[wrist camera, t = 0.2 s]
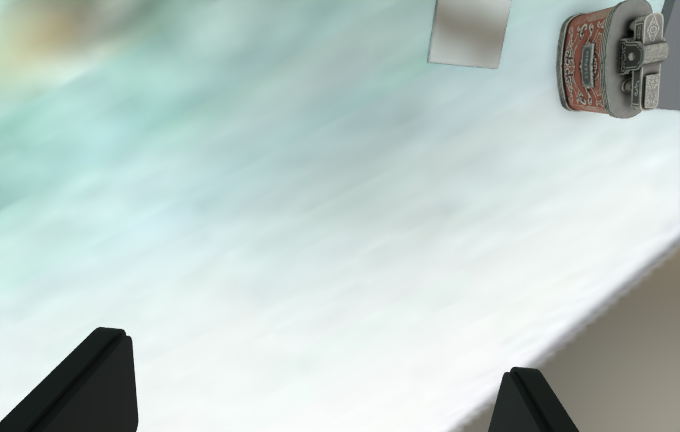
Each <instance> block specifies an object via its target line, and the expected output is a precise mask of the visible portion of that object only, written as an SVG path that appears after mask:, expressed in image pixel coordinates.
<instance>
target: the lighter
mask: <svg viewBox="0 0 680 432" xmlns="http://www.w3.org/2000/svg"><path fill="white" fill-rule="evenodd" d="M663 22H664V18H663V15H662V14H661V13H653V12H652V8H651V5H650V4H649V3H648V2H647V1H646V0H626V1H623V2H620V3H619V4H617V5H616V6H614V7H610V8H607V9H603V10H599V11H596V12H592V13H589V14H588V13H580V14H577V15H574V16H571V17H569V18H568V19H567V20H565V22H564V23H563V24H562V27H561V29H560V35H559V41H558V47H557V61H556V73H557V85H558V91H559V96H560V100H561V104H562V106H563V107H564V108H565V109H566V110H569V111H575V112H578V111H590V112H597V113H604V114H609V115H610V116H612V117H615V118H630V117H634V116H636V115H637V114H639V113H640V112H641V111H649V110H653V109H655V108H656V107H657V105H658V99H659V83H660V68H661V65H662V64H663V62H664V61H665V60H666V59H667V58H668V55H669V44H668V43H667V42H666V41H665V39H664V37H663Z"/></svg>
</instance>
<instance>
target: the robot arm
mask: <svg viewBox="0 0 680 432" xmlns="http://www.w3.org/2000/svg"><path fill="white" fill-rule="evenodd" d="M137 427H138V408H137V396H136V383H135V371H134V358H133V346H132V338H131V337H130V336H126V332H125V331H124V330H123V329H115V328H105V327H99V328H96V329H95V330H94V331H93V332H92V333H91V334H90V335H89V336H88V337H87V338H86V339H85V340H84V341H83V342H82V343H81V344H80V345H78V346H77V347H76V348H75V349H74V350H73V351H72V352H71V353H70V354H69V355H68V356H67V357H66V358H65V359H64V360H63V361H62V362H61V363H60V364H59V365H58V366H57V367H56V368H55V369H54V370H53V371H52V372H51V373H50V374H49V375H48V376H47V377H46V378H45V379H44V380H43V381H42V382H41V383H40V384H39V385H37V386H36V387H35V388H34V389H33V390H32V391H31V392H30V393H29V394H28V395H27V396H26V397H25V398H24V399H23V400H22V401H21V402H20V403H19V404H18V405H17V406H16V407H15V408H14V409H13V410H12V411H11V412H10V413H9V414H8V415H7V416H6V417H5V418H4V419H3V420H2V421H1V422H0V432H136V430H137ZM488 432H579V431H578V429H577V428H576V426H575V424H574V423H573V421H572V420H571V418H570V417H569V415H568V414H567V412H566V410H565V409H564V407H563V406H562V404H561V403H560V401H559V400H558V398H557V397H556V395H555V393H554V392H553V390H552V389H551V387H550V386H549V384H548V383H547V381H546V380H545V378H544V377H543V375H542V373H541V372H540V371H539V370H538V369H533V368H522V367H513V368H512V369H511V370H510V372H505V373H504V375H503V378H502V382H501V385H500V389H499V393H498V396H497V400H496V404H495V408H494V412H493V415H492V419H491V423H490V426H489V430H488Z"/></svg>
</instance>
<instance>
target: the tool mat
mask: <svg viewBox="0 0 680 432" xmlns="http://www.w3.org/2000/svg"><path fill="white" fill-rule="evenodd" d="M661 14H662V15H663V18H664V22H663V37H664V39H665V41H666V42H667V43H668V44H669V55H668V58H667V59H666V60H665V61H664V62H663V64H662V65H661V68H660V83H659V99H658V105H657V107H656V108H660V109H671V110H680V0H665V3H664V7H663V10H662V13H661Z"/></svg>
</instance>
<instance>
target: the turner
mask: <svg viewBox="0 0 680 432" xmlns="http://www.w3.org/2000/svg"><path fill="white" fill-rule="evenodd" d="M511 1H512V0H437V1H436V7H435V14H434V21H433V27H432V34H431V41H430V47H429V54H428V61H427V62H429V63H439V64H450V65H460V66H471V67H481V68H491V69H498V65H499V60H500V55H501V51H502V46H503V41H504V36H505V31H506V26H507V21H508V16H509V11H510V6H511Z"/></svg>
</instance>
